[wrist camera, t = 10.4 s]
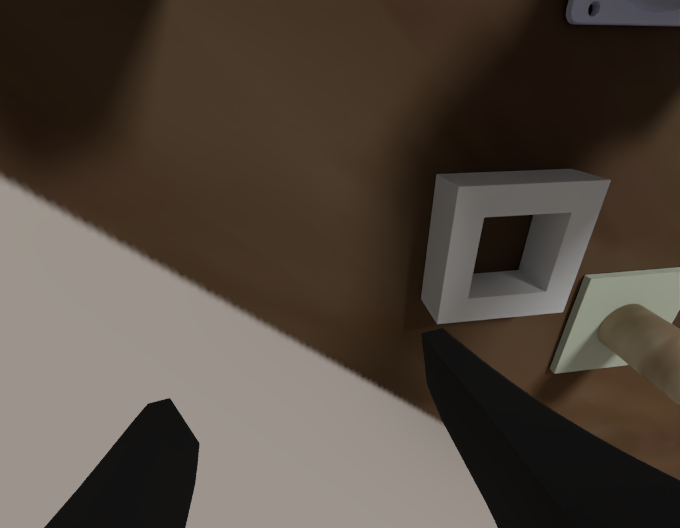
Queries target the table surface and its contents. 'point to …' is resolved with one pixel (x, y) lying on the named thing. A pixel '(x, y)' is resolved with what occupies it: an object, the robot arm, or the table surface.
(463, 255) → the gray square frame
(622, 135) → the table surface
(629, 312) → the plug
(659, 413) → the table surface
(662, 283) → the mat
